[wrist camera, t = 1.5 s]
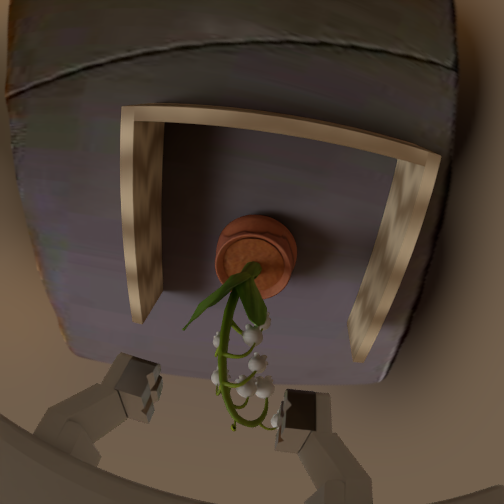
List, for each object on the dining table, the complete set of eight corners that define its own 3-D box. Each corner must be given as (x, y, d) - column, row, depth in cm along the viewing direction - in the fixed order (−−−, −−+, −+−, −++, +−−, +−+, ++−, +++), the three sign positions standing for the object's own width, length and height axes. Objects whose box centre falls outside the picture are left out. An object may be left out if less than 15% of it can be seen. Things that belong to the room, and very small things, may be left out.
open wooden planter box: (154, 102, 33) (121, 106, 26) (412, 143, 31) (441, 156, 24) (154, 288, 46) (132, 321, 39) (356, 323, 44) (363, 362, 37)
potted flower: (323, 256, 40) (341, 432, 18) (270, 300, 44) (244, 465, 22) (255, 193, 37) (196, 343, 15) (204, 246, 41) (122, 400, 19)
